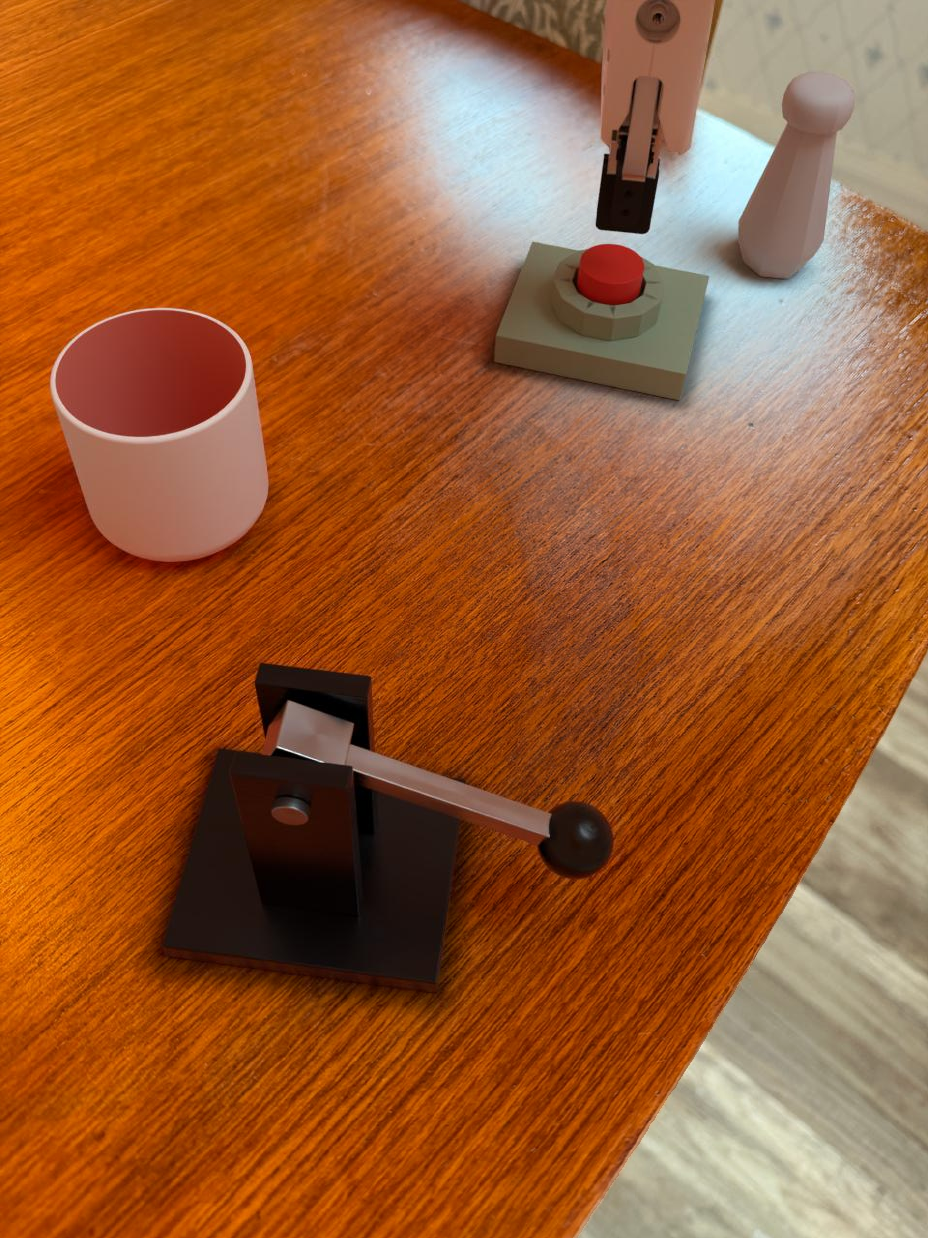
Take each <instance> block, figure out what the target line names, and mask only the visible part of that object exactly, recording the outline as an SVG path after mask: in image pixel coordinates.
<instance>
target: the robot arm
mask: <svg viewBox="0 0 928 1238" xmlns="http://www.w3.org/2000/svg"><path fill="white" fill-rule="evenodd" d="M715 2H716V0H606V5H605V15H604V16H605V17H604V26H603V27H604V29H603V43H602V60H601V61H602V62H601V86H600V87H601V89H600V90H601V91H600V92H601V93H600V140H601V141H602V143H603V144H604V145H605V146H606V147H607V148H608V153H604V154H603V158H602V160H603V161H602V166H601V167H602V168H601V174H600V175H601V176H600V183H599V191H598V196H597V197H598V199H597V205H596V214H595V215H596V217H595V227H596V229H598V230H599V231H606V232H614V233H615V232H616V233H624V234H625V233H626V234H637V235H646V234H647V233H649V231H650V229H651V224H652V219H653V218H652V217H653V212H654V207H655V206H654V205H655V201H656V195H657V189H658V183H659V178H660V164H661V158H660V154H661V149H662V143H663V140H664V142H665V146H666V149H667V152H669V153H672V152H673V153H677V155H684V154H686V153H687V152H688V151H689V150H690V149H691V147H692V141H693V134H694V129H695V122H696V115H697V110H698V104H699V97H700V91H701V86H702V80H703V75H704V68H705V64H706V63H705V62H706V57H707V52H708V45H709V42H710V41H709V40H710V34H711V28H712V22H713V16H714V10H715V5H716V3H715Z"/></svg>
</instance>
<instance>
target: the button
mask: <svg viewBox="0 0 928 1238" xmlns="http://www.w3.org/2000/svg"><path fill="white" fill-rule="evenodd" d="M586 249H587V250H586V251H585V252H584V253H583V254H582V256H581V258H580V264H579V271H578V279H577V287H578V290H579V292H580V293H581V295H582V296H584V297H585V298H587V299H589V300H590V301H592V302H596V303H601V304H606V305H611V306H614V305H621V304H628V303H630V302H632V301H633V300H635V299H636V298H637V296H638V295H639V293H640V288H641V283H642V278H643V272H644V262H643V260H642V258H643V257H642V256H641V255H640V254H639V253H638V252H637V251H636V250H633V249H631V248H630V247H628V246H624V245H621V244H617V243H600V244H596V245H593V246H591V247H589V248H586ZM640 256H641V257H642V258H641V257H640Z"/></svg>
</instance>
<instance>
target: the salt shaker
mask: <svg viewBox="0 0 928 1238" xmlns="http://www.w3.org/2000/svg"><path fill="white" fill-rule="evenodd" d="M855 101H856V96H855V92H854V89H853V87H852V85H851V84H850V83H849V82H848V81H847V80H846V79H845V78H843V77H841V76H839V75H837V74H834V73H831V72H826V71H822V70H818V71H807V72H804V73H801V74H799V75H797V76H795V77H793V78H792V79H791V81H789V83H788V84H787V85H786V88H785V89H784V93H783V96H782V101H781V111H782V113H781V114H782V118H783V119H784V120H785V122H786V124H785V127H784V129H783V131H782V133H781V134H780V137H779V140H778V141H777V143H776V146H775V147H774V149H773V151H772V153H771V155H770V157H769V159H768V161H767V164H766V165H765V167H764V169H763V171H762V174H761V176H760V177H759V180H758V181H757V183H756V185H755V187H754V189H753V191H752V193H751V195H750V197H749V199H748V201H747V203H746V206H745V207H744V209H743V211H742V213H741V215H740V217H739V220H738V223H737V224H738V225H737V235H738V236H737V239H738V245H739V248H740V253H741V257H742V262H743V263H744V264H745V265H746V266H747V267H748V268H750V269H751V271H753V272H755V273H756V274H757V275H758V276H759V277H761V278H762V277H763V278H772V279H773V278H774V279H782V280H783V279H785V280H787V279H790V278H791V277H792V276H793V275H795V274H796V273H797V272H798V271H800V270H801V269H803V268H804V266H805V265H807V263H808V262H809V261H810V260H811V259H812V258H814V256H815V255H816V254H817V252H818V251H819V250H820V248H821V246H822V244H823V242H824V240H825V233H826V232H825V231H826V225H827V217H828V216H827V215H828V208H829V202H830V201H829V199H830V191H831V185H832V176H833V167H834V159H835V153H836V152H835V151H836V145H837V144H836V143H837V135H838V132H839V131H842V130H843V129H844V128H845V126H846V125H847V124H848V122H849V121H850V119H851V118H852V114H853V112H854V108H855Z"/></svg>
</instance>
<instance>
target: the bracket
mask: <svg viewBox="0 0 928 1238" xmlns="http://www.w3.org/2000/svg"><path fill="white" fill-rule="evenodd" d="M258 664H259V665H258V668H257V672H256V674H255V678H254V682H253V683H254V689H255V693H256V699H257V704H258V705H257V706H258V709H259V715H260V720H261V726H262V729H263V736H264V740H265V739H266V735H267V731H268V727H269V725H270V724H271V722H272V721H273V720H274V718H275V717H276V715H277V714H278V713H279V711H280V710H281V708H282V707H283V706H284V704H285V703H286V701H287V700H292V701H294V702H297V703H300V704H303V705H306V706H309V707H311V708H314V709H317V710H320V711H323V712H325V713H328V714H331V715H334V716H337V717H340V718H342V719H345V720H348V721H351V722H353V723H354V728H353V733H352V737H351V742H350V744H352V745H355V746H358V747H361V748H364V749H367V750H370V751H372V752H375V753H376V745H375V744H376V743H375V726H374V725H375V724H374V723H375V722H374V721H375V720H374V704H373V703H374V702H373V701H374V700H373V681H372V675H365V674H357V673H350V672H340V671H332V670H323V669H315V668H307V667H299V666H291V665H284V664H283V665H282V664H276V663H267V662H259V663H258ZM446 777H447V778H450V779H453V780H456V781H459V782H462V783H464V784H467V780H466V779H464V778H457V777H450V776H446ZM208 779H209V780H208V782H207V786H206V789H205V793H204V797H203V800H202V805H201V807H200V810H199V814H198V817H197V821H196V824H195V828H194V832H193V835H192V838H191V843H190V846H189V849H188V853H187V857H186V860H185V862H184V867H183V870H182V874H181V877H180V880H179V884H178V887H177V891H176V895H175V898H174V901H173V906H172V907H171V912H170V915H169V919H168V922H167V926H166V929H165V933H164V937H163V940H162V943H161V947H162V950H163V952H164V954H165V956H166V957H169V958H176V959H183V960H192V961H199V962H206V963H214V964H221V965H229V966H236V967H241V968H242V967H243V968H250V969H257V970H265V971H272V972H279V973H288V974H296V975H303V976H311V977H316V978H317V977H318V978H324V979H332V980H339V981H347V982H353V983H354V982H355V983H362V984H369V985H377V986H383V987H384V986H385V987H392V988H399V989H406V990H414V991H420V992H427V993H438V988H439V982H440V981H439V980H440V974H441V968H442V967H441V966H442V959H443V954H444V945H445V939H446V931H447V923H448V917H449V909H450V901H451V896H452V889H453V881H454V873H455V865H456V860H457V854H458V853H457V852H458V847H459V846H458V845H459V838H460V831H461V825H462V820H461V819H458V818H455V817H452V816H449V815H446V814H443V813H440V812H437V811H434V810H431V809H428V808H425V807H422V806H419V805H416V804H413V803H410V802H407V801H404V800H401V799H399V798H396V797H393V796H390V795H387V794H384V793H381V792H378V791H375V790H372V789H369V788H366V787H363V786H360V785H357V784H354V776H353V767H352V766H348V765H340V764H333V763H325V762H317V761H309V760H301V759H293V758H285V757H277V756H270V755H262V752H261V753H260V752H254V751H245V750H239V749H229V748H222V747H220V748H219V747H218V749H217V752H216V755H215V759H214V761H213V764H212V769H211V773H210V775H209V778H208Z"/></svg>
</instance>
